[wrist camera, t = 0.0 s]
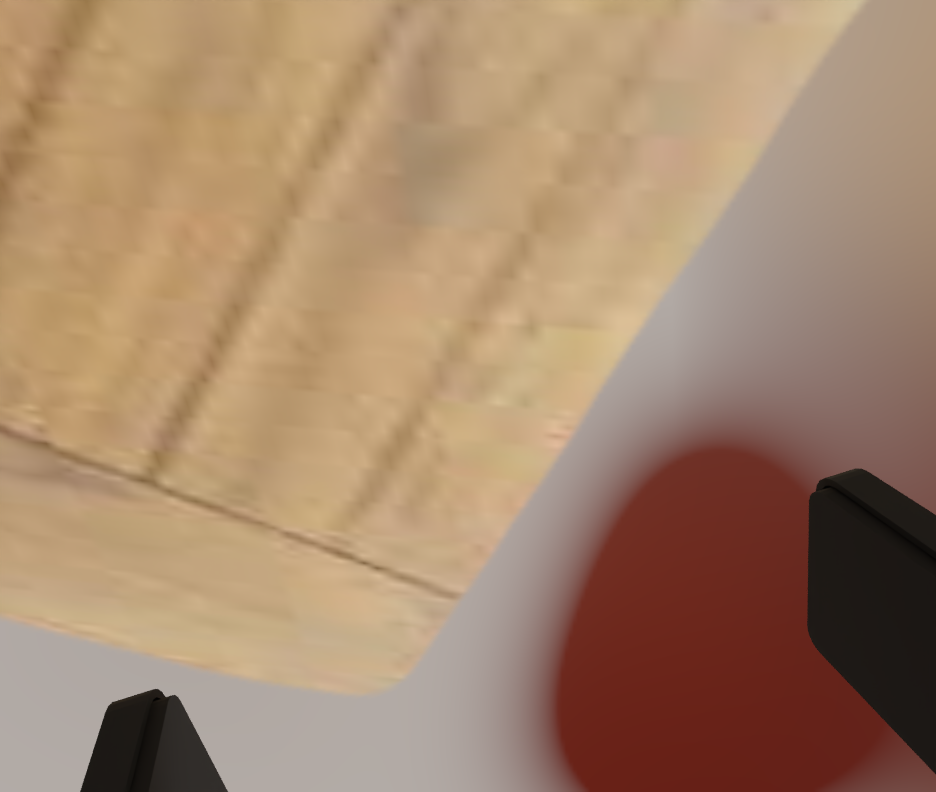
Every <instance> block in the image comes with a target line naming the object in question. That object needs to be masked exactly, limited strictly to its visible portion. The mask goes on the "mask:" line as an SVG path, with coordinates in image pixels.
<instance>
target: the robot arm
mask: <svg viewBox="0 0 936 792" xmlns="http://www.w3.org/2000/svg"><path fill="white" fill-rule="evenodd" d="M808 550H809V551H808V553H809V554H808V621H807V626H808V632H809V635H810V638H811V640H812V642H813V644H814V645H815V647H816V648H817V650H818V651H819V652H820V653H821V654H822V655H823V656H824V658H825V659H826V660H828V662H829V663H830V664H831V665H832V666H833V667H834V668H835V669H836V670H837V671H838V672H839V673H840V674H841V675H842V676H843V677H844V678H845V679H846V680H847V682H848V683H849V684H850V685H851V686H852V687H853V688H854V689H855V690H856V691H857V692H858V693H859V694H860V695H861V696H862V697H863V698H864V699H865V700H866V701H867V702H868V704H869V705H870V706H871V707H873V709H874V710H875V711H876V712H877V713H878V714H879V715H880V716H881V717H882V718H883V719H884V720H885V721H886V722H887V724H888V725H889V726H890V727H891V728H892V729H893V730H894V731H895V732H896V733H897V734H898V735H899V736H900V737H901V738H902V739H903V740H904V741H905V742H906V743H907V745H908V746H909V747H910V748H911V749H912V750H913V751H914V752H915V753H916V754H917V755H918V756H919V757H920V758H921V759H922V760H923V761H924V762H925V763H926V764H927V765H928V767H929V768H930V769H931V770H932V771H933V772H934V773H935V774H936V515H935V514H933V513H932V512H930V511H929V510H927V509H925V508H924V507H922V506H921V505H919V504H918V503H916V502H914V501H913V500H911V499H910V498H908V497H907V496H905V495H903V494H902V493H900V492H899V491H897V490H896V489H894V488H893V487H891V486H890V485H888V484H886V483H885V482H883V481H882V480H880V479H879V478H877V477H876V476H874V475H872V474H871V473H869V472H867V471H865V470H863V469H853V470H849V471H846V472H843V473H840V474H837V475H834V476H830V477H827V478H824V479H822V480H820V481H819V483H818V484H817V488H816V492H814V493H812V494H811V496H810V500H809V549H808ZM80 792H228V791H227V789H226V787H225V785H224V784H223V782H222V780H221V778H220V776H219V774H218V772H217V770H216V768H215V766H214V764H213V762H212V760H211V758H210V757H209V755H208V753H207V751H206V749H205V747H204V745H203V743H202V741H201V739H200V737H199V735H198V734H197V732H196V730H195V728H194V726H193V724H192V722H191V720H190V719H189V716H188V714H187V712H186V711H185V709H184V707H183V705H182V703H181V701H180V700H179V698H178V697H177V696H175V695H172V696H169V697H165V696H164V694H163V693H162V692H161V691H160V690H158V689H154V690H150V691H147V692H144V693H141V694H137V695H134V696H131V697H128V698H125V699H122V700H118V701H115V702H112V704H110V705H109V706H108V708H107V710H106V712H105V716H104V719H103V722H102V725H101V728H100V731H99V735H98V738H97V741H96V744H95V747H94V750H93V754H92V757H91V759H90V763H89V766H88V769H87V772H86V775H85V778H84V782H83V785H82V788H81V791H80Z"/></svg>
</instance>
